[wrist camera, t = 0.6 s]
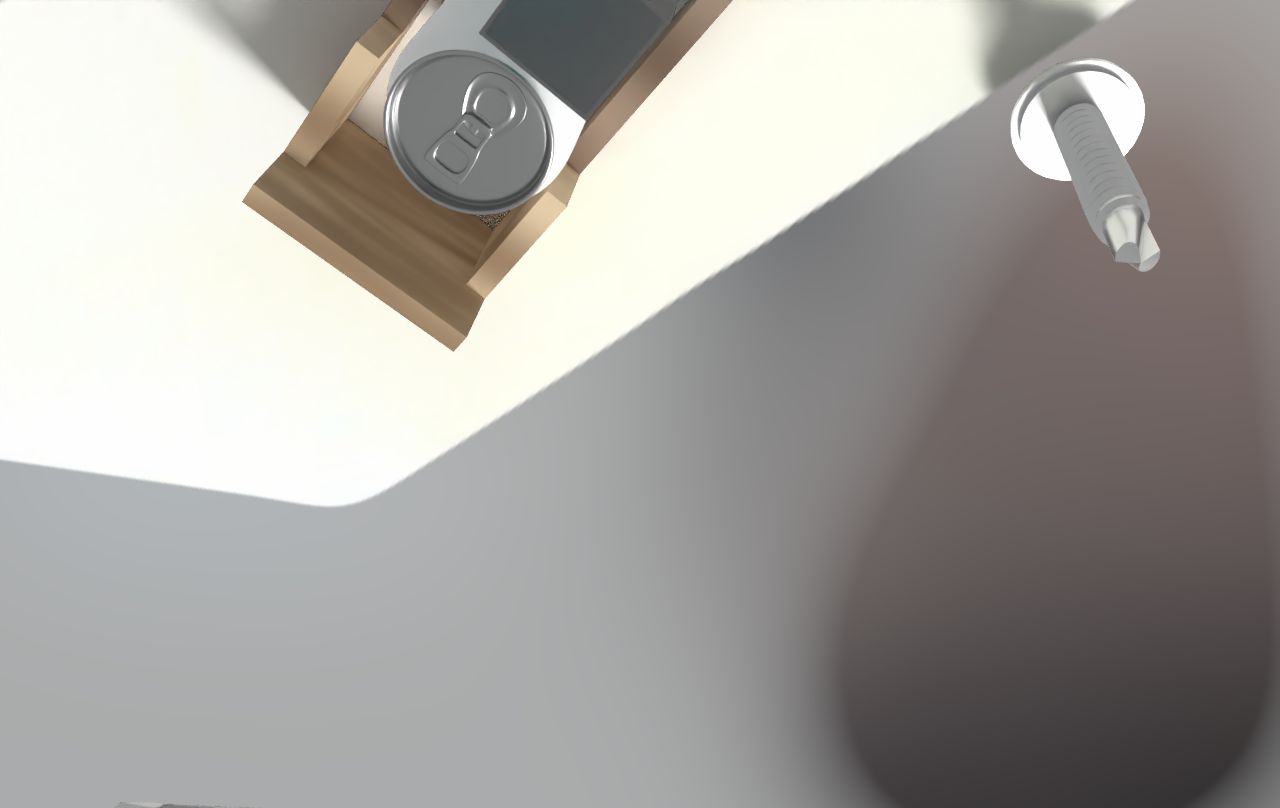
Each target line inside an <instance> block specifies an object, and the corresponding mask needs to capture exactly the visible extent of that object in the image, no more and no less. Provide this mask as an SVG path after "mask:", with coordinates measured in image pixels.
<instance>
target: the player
mask: <svg viewBox="0 0 1280 808" xmlns="http://www.w3.org/2000/svg"><path fill="white" fill-rule="evenodd" d="M677 3H678V0H502V2H501V3H500V4H499V6H498V7H497V8H496V10H495V11H494V12H493V14H492V15H491V17H490V18H489V19H488V21H487V22H486V23H485V25H484V26H483V27H482V29H481V30H480V32H479V34H480V35H481V36H483V37H484V38H485V39H486V40H488V41H489V42H490V43H491V44H492V45H494V46H495V47H496V48H497V49H499V50H500V51H501V52H502V53H503V54H505V55H506V56H507V57H508V58H510V59H511V60H512V61H513V62H514V63H516V64H517V65H518V66H519V67H520V68H522V69H523V70H524V71H525V72H527V73H528V74H529V75H530V76H531V77H533V78H534V79H535V80H536V81H538V82H539V83H540V84H541V85H542V86H544V87H545V88H546V89H547V90H549V91H550V92H551V93H552V94H553V95H555V96H556V97H557V98H558V99H559V100H561V101H562V102H563V103H564V104H566V105H567V106H568V107H569V108H570V109H572V110H573V111H574V112H575V113H577V114H578V115H579V116H580V117H581V118H583V119H584V120H585V121H587V120H588V119H589V118H590V116H591V115H592V114H593V113H594V112H595V111H596V109H597V108H598V107H599V106H600V105H601V103H602V102H603V101H604V100H605V99H606V98H607V96H608V95H609V94H610V93H611V92H612V91H613V89H614V88H615V87H616V86H617V85H618V84H619V82H620V81H621V80H622V79H623V78H624V76H625V75H626V74H627V73H628V72H629V71H630V69H631V68H632V67H633V66H634V65H635V64H636V62H637V61H638V60H639V59H640V58H641V56H642V55H643V54H644V53H645V52H646V51H647V49H648V48H649V47H650V46H651V45H652V44H653V42H654V41H655V40H656V39H657V38H658V37H659V35H660V34H661V33H662V32H663V31H664V29H665V28H666V27H667V26H668V25H669V24H670V22H671V21H672V18H673V15H674V12H675V9H676V6H677Z"/></svg>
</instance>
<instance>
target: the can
mask: <svg viewBox="0 0 1280 808" xmlns="http://www.w3.org/2000/svg"><path fill="white" fill-rule="evenodd" d="M501 2H502V0H445V1H444V2H443V4H442V5H441V6H440V7H439V8H438V9H437V10H436V12H435V13H434V14H433V15H432V16H431V17H430V18H429V20H428V21H427V22H426V23H425V24H424V25H423V26H422V28H421V29H420V30H419V31H418V32H417V34H416V35H415V36H414V37H413V38H412V39H411V41H410V42H409V43H408V44H407V46H406V47H405V48H404V50H403V51H402V53H401V54H400V56H399V57H398V59H397V61H396V63H395V65H394V67H393V70H392V72H391V75H390V79H389V83H388V88H387V99H386V103H385V108H384V133H385V138H386V142H387V145H388V148H389V151H390V153H391V156H392V158H393V160H394V162H395V163H396V165H397V167H398V168H399V170H400V171H401V173H402V174H403V175H404V177H405V178H406V179H407V180H408V181H409V182H410V184H411V185H412V186H413V187H415V188H416V189H417V190H418V191H419V192H420V193H422V194H423V195H424V196H426V197H427V198H429V199H430V200H432V201H433V202H435V203H437V204H439V205H441V206H443V207H445V208H448V209H451V210H454V211H457V212H461V213H466V214H473V215H490V214H497V213H502V212H505V211H508V210H511V209H513V208H515V207H517V206H519V205H521V204H523V203H524V202H526V201H527V200H528V199H530V198H531V197H532V196H533V195H535V194H537V193H539V192H540V191H542V190H543V189H544V188H546V187H547V186H548V185H549V184H550V183H551V182H552V181H553V180H554V179H555V178H556V177H557V176H558V174H559V173H560V172H561V170H562V169H563V167H564V166H565V164H566V163H567V161H568V159H569V157H570V155H571V153H572V151H573V149H574V146H575V144H576V142H577V140H578V138H579V135H580V133H581V131H582V129H583V126H584V124H585V122H586V121H585V120H584V119H583V118H581V117H580V116H579V115H578V114H577V113H575V112H574V111H573V110H572V109H570V108H569V107H568V106H567V105H566V104H564V103H563V102H562V101H561V100H559V99H558V98H557V97H556V96H555V95H553V94H552V93H551V92H550V91H549V90H547V89H546V88H545V87H544V86H542V85H541V84H540V83H539V82H538V81H536V80H535V79H534V78H533V77H531V76H530V75H529V74H528V73H527V72H525V71H524V70H523V69H522V68H520V67H519V66H518V65H517V64H516V63H514V62H513V61H512V60H511V59H510V58H508V57H507V56H506V55H505V54H503V53H502V52H501V51H500V50H499V49H497V48H496V47H495V46H494V45H492V44H491V43H490V42H489V41H488V40H486V39H485V38H484V37H483V36H481V35H480V34H479V32H480V30H481V29H482V27H483V26H484V25H485V23H486V22H487V21H488V19H489V18H490V17H491V15H492V14H493V12H494V11H495V10H496V8H497V7H498V6H499V4H500V3H501Z"/></svg>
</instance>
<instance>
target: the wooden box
mask: <svg viewBox="0 0 1280 808" xmlns="http://www.w3.org/2000/svg"><path fill="white" fill-rule="evenodd" d="M427 2H428V0H392V1H391V3H390V4H389V6H388V7H387V9H386V10H385V12H384V13H383V15H382V16H381V17H380V18H379V19H378V20H377V21H376V22H375V23H374V24H373V25H372V26H371V27H370V28H369V29H368V30H367V31H366V32H365V33H364V34H363V35H362V36H361V37H360V38H359V39H358V40H357V41H356V43H355V44H354V46H353V47H352V49H351V50H350V52H349V53H348V55H347V56H346V58H345V59H344V61H343V62H342V64H341V65H340V67H339V68H338V70H337V72H336V73H335V75H334V76H333V78H332V79H331V81H330V82H329V84H328V85H327V87H326V88H325V90H324V91H323V93H322V94H321V96H320V97H319V99H318V100H317V102H316V103H315V105H314V107H313V108H312V110H311V111H310V113H309V114H308V116H307V117H306V119H305V120H304V122H303V123H302V125H301V126H300V128H299V129H298V131H297V132H296V134H295V135H294V137H293V138H292V140H291V142H290V143H289V145H288V146H287V148H286V149H285V151H284V152H283V153H282V154H281V155H280V156H279V157H278V158H277V160H276V161H275V162H274V163H273V164H272V165H271V166H270V167H269V168H268V169H267V170H266V171H265V172H264V174H263V175H262V176H261V177H260V178H259V179H258V180H257V181H256V182H255V183H254V184H253V186H252V187H251V189H250V190H249V192H248V193H247V195H246V197H245V198H244V200H243V201H242V202H243V203H244V204H246V205H247V206H249V207H250V208H252V209H253V210H254V211H256V212H257V213H259V214H260V215H261V216H263V217H264V218H266V219H267V220H268V221H270V222H271V223H273V224H274V225H276V226H277V227H278V228H280V229H281V230H283V231H284V232H285V233H287V234H288V235H290V236H291V237H292V238H294V239H295V240H297V241H298V242H300V243H301V244H302V245H304V246H305V247H307V248H308V249H309V250H311V251H312V252H314V253H315V254H316V255H318V256H319V257H321V258H322V259H324V260H325V261H326V262H328V263H329V264H331V265H332V266H333V267H335V268H336V269H338V270H339V271H340V272H342V273H343V274H345V275H346V276H348V277H349V278H350V279H352V280H353V281H355V282H356V283H357V284H359V285H360V286H362V287H363V288H364V289H366V290H367V291H369V292H370V293H372V294H373V295H374V296H376V297H377V298H379V299H380V300H381V301H383V302H384V303H386V304H387V305H388V306H390V307H391V308H393V309H394V310H396V311H397V312H398V313H400V314H401V315H403V316H404V317H405V318H407V319H408V320H410V321H411V322H412V323H414V324H415V325H417V326H418V327H419V328H421V329H422V330H424V331H425V332H427V333H428V334H429V335H431V336H432V337H434V338H435V339H436V340H438V341H439V342H441V343H442V344H443V345H445V346H446V347H448V348H449V349H451V350H452V351H453V352H454V351H455V349H456V348H457V347H458V346H459V345H460V344H461V343H462V342H463V341H464V339H465V338H466V337H467V335H468V333H469V331H470V329H471V327H472V325H473V322H474V320H475V318H476V316H477V314H478V312H479V310H480V308H481V305H482V303H483V301H484V299H485V298H486V297H487V296H488V294H489V293H490V292H491V291H492V290H493V289H494V288H495V287H496V285H497V284H498V283H499V282H500V281H501V280H502V279H503V278H504V276H505V275H506V274H507V273H508V272H509V271H510V270H511V269H512V267H513V266H514V265H515V264H516V263H517V262H518V261H519V260H520V258H521V257H522V256H523V255H524V254H525V253H526V252H527V251H528V249H529V248H530V247H531V246H532V245H533V244H534V243H535V242H536V240H537V239H538V238H539V237H540V236H541V235H542V234H543V233H544V231H545V230H546V229H547V228H548V227H549V226H550V225H551V224H552V222H553V221H554V220H555V219H556V218H557V217H558V216H559V215H560V213H561V212H562V211H563V210H564V209H565V208H566V207H567V205H568V202H569V200H570V197H571V195H572V192H573V190H574V187H575V185H576V183H577V180H578V178H579V175H580V173H581V172H582V171H583V170H584V169H585V168H586V167H587V165H588V164H589V163H590V162H591V161H592V160H593V159H594V158H595V156H596V155H597V154H598V153H599V152H600V151H601V150H602V148H603V147H604V146H605V145H606V144H607V143H608V142H609V140H610V139H611V138H612V137H613V136H614V135H615V134H616V132H617V131H618V130H619V129H620V128H621V127H622V126H623V125H624V123H625V122H626V121H627V120H628V119H629V118H630V117H631V115H632V114H633V113H634V112H635V111H636V110H637V109H638V107H639V106H640V105H641V104H642V103H643V102H644V101H645V99H646V98H647V97H648V96H649V95H650V94H651V93H652V92H653V90H654V89H655V88H656V87H657V86H658V85H659V84H660V82H661V81H662V80H663V79H664V78H665V77H666V76H667V74H668V73H669V72H670V71H671V70H672V69H673V68H674V66H675V65H676V64H677V63H678V62H679V61H680V60H681V59H682V57H683V56H684V55H685V54H686V53H687V52H688V51H689V49H690V48H691V47H692V46H693V45H694V44H695V43H696V41H697V40H698V39H699V38H700V37H701V36H702V35H703V33H704V32H705V31H706V30H707V29H708V28H709V27H710V26H711V24H712V23H713V22H714V21H715V20H716V19H717V18H718V16H719V15H720V14H721V13H722V12H723V11H724V10H725V8H726V7H727V6H728V5H729V4H730V3H731V2H732V0H688V2H687V3H686V4H685V5H684V6H683V7H682V9H681V10H680V11H679V12H678V13H677V15H676V16H675V17H674V18H673V19H672V21H671V22H670V24H669V25H668V26H667V27H666V28H665V29H664V31H663V32H662V33H661V34H660V35H659V37H658V38H657V39H656V40H655V41H654V42H653V44H652V45H651V46H650V47H649V48H648V49H647V51H646V52H645V53H644V54H643V55H642V56H641V58H640V59H639V60H638V61H637V62H636V64H635V65H634V66H633V67H632V68H631V69H630V71H629V72H628V73H627V74H626V75H625V76H624V78H623V79H622V80H621V81H620V82H619V84H618V85H617V86H616V87H615V88H614V89H613V91H612V92H611V93H610V94H609V95H608V96H607V98H606V99H605V100H604V101H603V102H602V103H601V105H600V106H599V107H598V108H597V109H596V111H595V112H594V113H593V114H592V115H591V116H590V118H589V119H588V120H587V121H586V122H585V124H584V126H583V129H582V131H581V133H580V135H579V138H578V140H577V142H576V144H575V146H574V149H573V151H572V153H571V155H570V157H569V159H568V161H567V163H566V164H565V166H564V167H563V169H562V170H561V172H560V173H559V174H558V176H557V177H556V178H555V179H554V180H553V181H552V182H551V183H550V184H549V185H548V186H547V187H546V188H544V189H543V190H542V191H540V192H539V193H537V194H535V195H533V196H532V197H531V198H530V199H528V200H527V201H526V202H524V203H523V204H521V205H519V206H517V207H515V208H513V209H511V210H510V211H509V212H508V213H507V214H506V215H505V217H504V218H503V219H502V220H501V221H500V223H499V224H498V225H497V226H496V227H495V228H494V230H493V229H492V228H491V227H489V226H488V225H487V224H485V223H484V222H483V221H481V220H480V219H479V218H477V217H476V216H475V215H473V214H466V213H461V212H457V211H454V210H451V209H448V208H445V207H443V206H441V205H439V204H437V203H435V202H433V201H432V200H430V199H429V198H427V197H426V196H424V195H423V194H422V193H420V192H419V191H418V190H417V189H416V188H415V187H413V186H412V185H411V184H410V182H409V181H408V180H407V179H406V178H405V177H404V175H403V174H402V173H401V171H400V170H399V168H398V167H397V165H396V163H395V162H394V160H393V158H392V156H391V153H390V151H389V150H388V149H386V148H385V147H384V146H382V145H381V144H380V143H379V142H377V141H376V140H375V139H373V138H372V137H371V136H369V135H368V134H367V133H365V132H364V131H363V130H361V129H360V128H359V127H357V126H356V125H355V124H353V123H352V122H351V121H350V120H348V119H347V118H348V117H349V116H350V114H351V113H352V111H353V110H354V108H355V107H356V105H357V104H358V102H359V101H360V99H361V98H362V97H363V95H364V94H365V92H366V91H367V89H368V88H369V86H370V85H371V83H372V82H373V81H374V79H375V78H376V76H377V75H378V73H379V72H380V70H381V69H382V67H383V66H384V64H385V63H386V62H387V60H388V59H389V57H390V56H391V54H392V53H393V51H394V50H395V48H396V47H397V46H398V44H399V43H400V41H401V40H402V38H403V37H404V35H405V34H406V32H407V31H408V29H409V28H410V27H411V25H412V24H413V22H414V21H415V19H416V18H417V16H418V15H419V13H420V12H421V11H422V9H423V8H424V6H425V5H426V3H427Z"/></svg>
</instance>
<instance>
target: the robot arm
mask: <svg viewBox="0 0 1280 808" xmlns="http://www.w3.org/2000/svg"><path fill="white" fill-rule="evenodd" d="M115 808H250V807H225V806H197V805H176V804H169V803H132V802H130V803H129V802H128V803H127V802H120V803H119V804H118V805H117V806H116V807H115ZM251 808H253V807H251Z"/></svg>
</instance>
